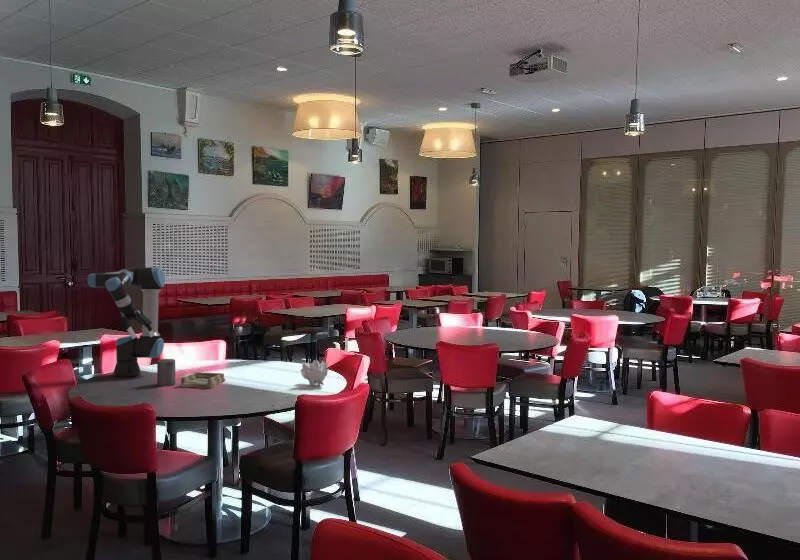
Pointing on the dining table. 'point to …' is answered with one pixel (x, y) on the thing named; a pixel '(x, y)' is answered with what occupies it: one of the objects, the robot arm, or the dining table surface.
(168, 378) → the pillar candle
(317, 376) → the grey spiky coral
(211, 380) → the wooden tray
